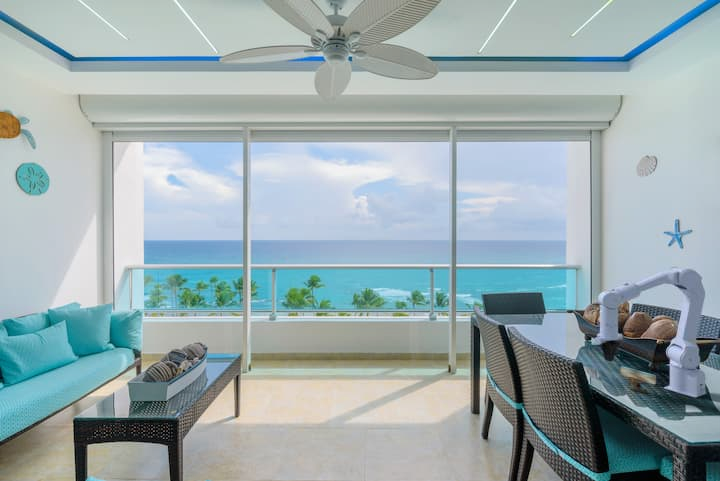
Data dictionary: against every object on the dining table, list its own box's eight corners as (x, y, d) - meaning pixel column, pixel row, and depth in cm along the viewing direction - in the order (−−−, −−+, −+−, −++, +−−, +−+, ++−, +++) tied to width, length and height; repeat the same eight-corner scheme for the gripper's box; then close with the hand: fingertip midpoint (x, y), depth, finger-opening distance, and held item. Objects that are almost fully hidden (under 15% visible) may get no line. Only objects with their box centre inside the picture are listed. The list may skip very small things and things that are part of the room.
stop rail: (656, 383, 148) (656, 375, 148) (654, 384, 148) (654, 375, 148) (622, 374, 159) (622, 366, 159) (620, 374, 159) (620, 366, 159)
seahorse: (632, 392, 141) (633, 387, 141) (624, 379, 154) (624, 374, 154) (651, 396, 139) (652, 390, 139) (641, 382, 152) (641, 377, 152)
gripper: (609, 320, 154) (609, 354, 154) (586, 324, 147) (586, 360, 147) (628, 323, 147) (628, 359, 148) (605, 328, 141) (606, 366, 141)
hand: (608, 360), depth 147 cm, fingers closed
